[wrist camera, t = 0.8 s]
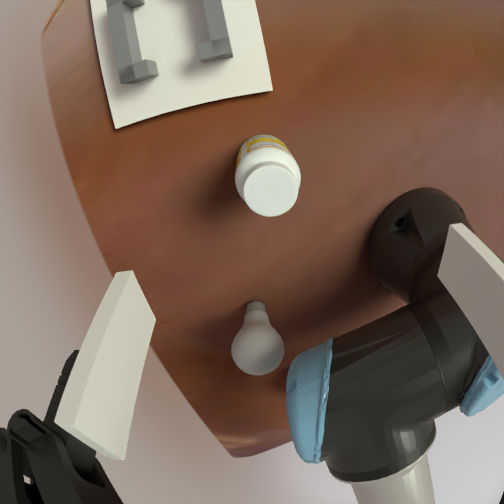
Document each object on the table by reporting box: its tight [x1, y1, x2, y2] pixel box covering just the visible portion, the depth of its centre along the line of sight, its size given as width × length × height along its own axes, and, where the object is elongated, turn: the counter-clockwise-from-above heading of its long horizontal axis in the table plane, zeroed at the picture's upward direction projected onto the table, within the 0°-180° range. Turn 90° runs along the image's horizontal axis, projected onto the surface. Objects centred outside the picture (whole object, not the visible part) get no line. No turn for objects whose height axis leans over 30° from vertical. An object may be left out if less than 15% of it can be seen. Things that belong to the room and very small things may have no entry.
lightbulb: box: [231, 301, 284, 375], centre depth 34 cm, size 6×6×11 cm
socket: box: [90, 0, 273, 129], centre depth 19 cm, size 18×16×4 cm
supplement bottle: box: [235, 135, 301, 217], centre depth 24 cm, size 5×5×10 cm
